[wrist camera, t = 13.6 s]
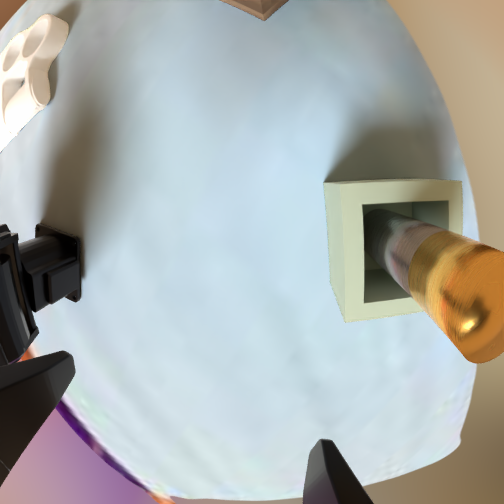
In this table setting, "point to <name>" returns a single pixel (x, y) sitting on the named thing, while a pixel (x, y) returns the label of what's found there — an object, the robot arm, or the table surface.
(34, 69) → the knuckle duster
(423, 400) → the table surface
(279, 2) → the brown square open box
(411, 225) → the gold and grey cylinder
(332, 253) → the cream square hollow block
